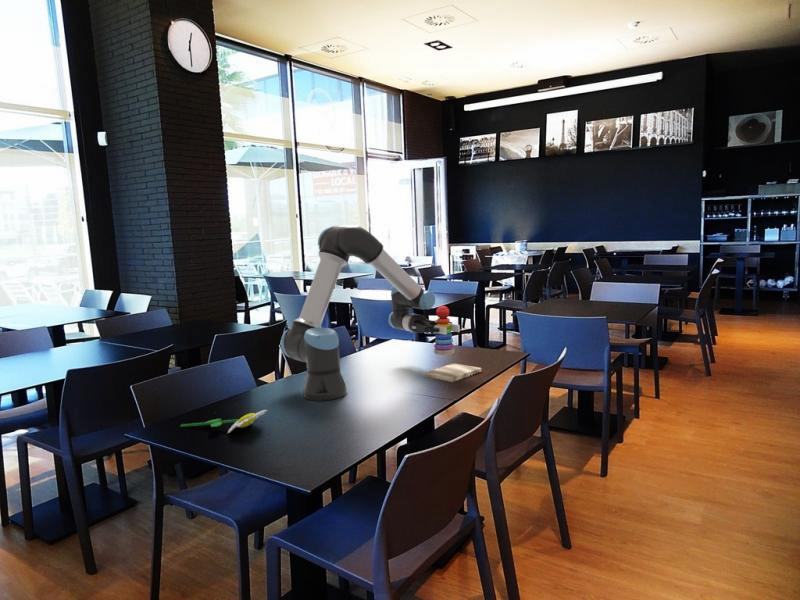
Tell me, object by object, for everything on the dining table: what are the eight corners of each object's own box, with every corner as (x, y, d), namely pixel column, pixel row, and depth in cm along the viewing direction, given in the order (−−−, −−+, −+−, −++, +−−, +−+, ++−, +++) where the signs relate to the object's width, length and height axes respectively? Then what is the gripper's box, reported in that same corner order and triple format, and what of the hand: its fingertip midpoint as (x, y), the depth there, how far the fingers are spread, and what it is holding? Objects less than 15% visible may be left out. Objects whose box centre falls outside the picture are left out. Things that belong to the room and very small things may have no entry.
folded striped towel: (452, 382, 205) (451, 378, 204) (424, 376, 214) (424, 372, 214) (481, 371, 217) (481, 368, 217) (453, 366, 227) (453, 363, 227)
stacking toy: (455, 355, 213) (453, 307, 210) (434, 356, 213) (432, 308, 210) (453, 350, 220) (451, 304, 218) (433, 351, 221) (431, 305, 218)
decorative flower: (168, 441, 165) (254, 434, 156) (165, 425, 165) (252, 417, 156) (196, 428, 177) (277, 421, 168) (193, 414, 177) (274, 405, 168)
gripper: (433, 328, 236) (470, 335, 217) (397, 335, 225) (433, 343, 206) (432, 311, 235) (470, 316, 216) (396, 317, 224) (433, 323, 205)
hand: (452, 329), depth 211 cm, fingers closed on stacking toy, 6 cm apart
